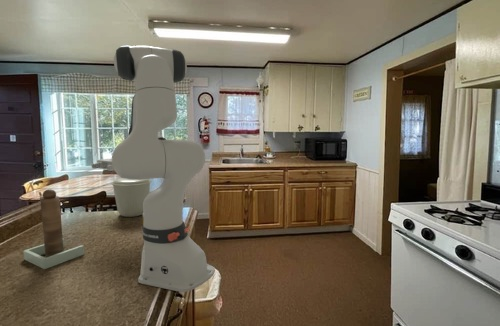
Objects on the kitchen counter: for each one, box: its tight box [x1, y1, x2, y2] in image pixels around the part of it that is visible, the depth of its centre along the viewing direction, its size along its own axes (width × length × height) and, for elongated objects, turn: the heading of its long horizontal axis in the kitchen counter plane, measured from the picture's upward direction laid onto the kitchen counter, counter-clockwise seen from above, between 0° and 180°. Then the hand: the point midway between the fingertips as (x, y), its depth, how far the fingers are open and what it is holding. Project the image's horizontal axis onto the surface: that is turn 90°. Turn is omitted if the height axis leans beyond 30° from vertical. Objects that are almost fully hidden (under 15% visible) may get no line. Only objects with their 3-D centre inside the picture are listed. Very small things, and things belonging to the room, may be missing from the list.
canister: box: [111, 177, 152, 218], centre depth 140 cm, size 18×18×21 cm
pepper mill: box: [39, 188, 65, 258], centre depth 93 cm, size 5×5×23 cm
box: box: [22, 238, 85, 270], centre depth 94 cm, size 13×12×3 cm
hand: (100, 167), depth 106 cm, fingers open, 8 cm apart
